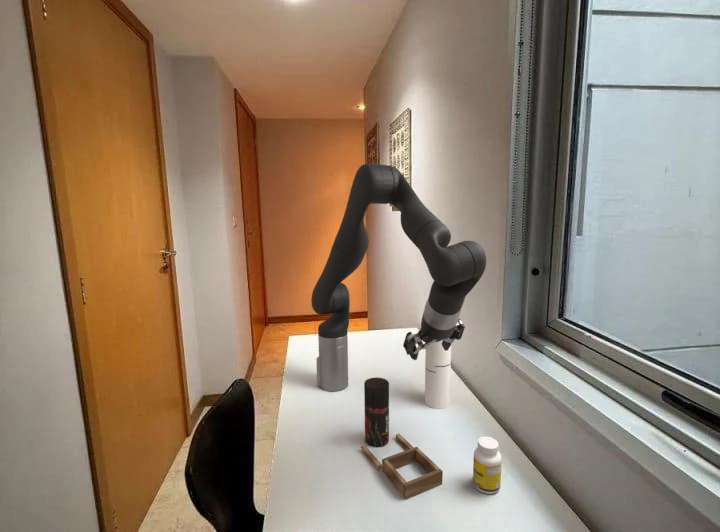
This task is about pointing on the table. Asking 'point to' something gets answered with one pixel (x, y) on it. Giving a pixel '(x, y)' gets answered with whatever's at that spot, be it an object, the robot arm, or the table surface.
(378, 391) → the deodorant
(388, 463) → the socket track
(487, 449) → the supplement bottle
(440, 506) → the table surface
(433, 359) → the cylindrical container
